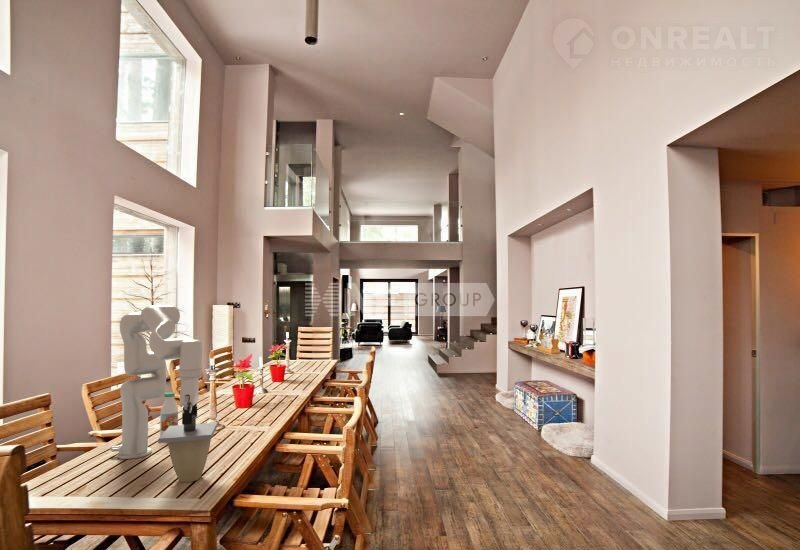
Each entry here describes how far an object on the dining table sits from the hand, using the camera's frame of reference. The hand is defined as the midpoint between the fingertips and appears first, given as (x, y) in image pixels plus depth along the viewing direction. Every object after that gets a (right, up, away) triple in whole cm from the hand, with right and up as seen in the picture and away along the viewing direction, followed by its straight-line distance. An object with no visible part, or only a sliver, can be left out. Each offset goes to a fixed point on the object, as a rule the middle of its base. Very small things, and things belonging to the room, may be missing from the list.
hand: (189, 420), depth 171 cm
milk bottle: (-35, -24, +55) cm, 70 cm away
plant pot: (0, -21, -1) cm, 21 cm away
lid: (0, -5, 0) cm, 5 cm away
